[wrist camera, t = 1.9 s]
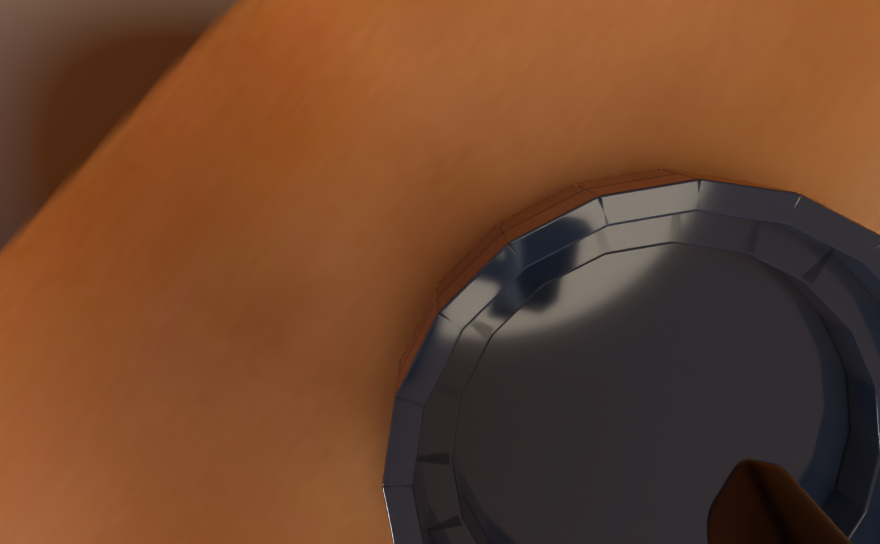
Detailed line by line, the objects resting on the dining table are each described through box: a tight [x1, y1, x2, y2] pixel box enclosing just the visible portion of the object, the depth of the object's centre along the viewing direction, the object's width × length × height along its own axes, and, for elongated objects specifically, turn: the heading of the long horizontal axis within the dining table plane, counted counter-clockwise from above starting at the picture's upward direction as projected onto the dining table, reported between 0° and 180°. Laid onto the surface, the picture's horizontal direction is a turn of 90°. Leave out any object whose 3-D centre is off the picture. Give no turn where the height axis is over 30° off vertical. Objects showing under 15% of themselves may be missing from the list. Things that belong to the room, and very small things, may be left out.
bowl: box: [382, 169, 880, 544], centre depth 23 cm, size 16×16×4 cm
